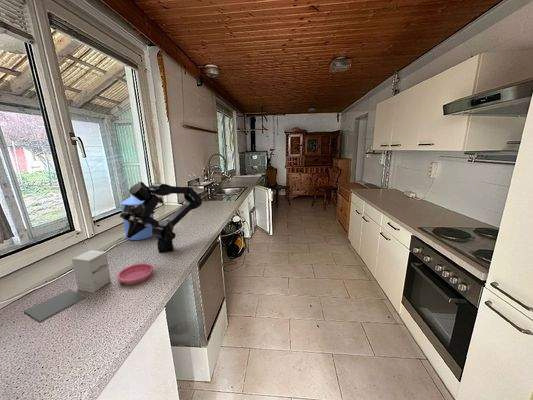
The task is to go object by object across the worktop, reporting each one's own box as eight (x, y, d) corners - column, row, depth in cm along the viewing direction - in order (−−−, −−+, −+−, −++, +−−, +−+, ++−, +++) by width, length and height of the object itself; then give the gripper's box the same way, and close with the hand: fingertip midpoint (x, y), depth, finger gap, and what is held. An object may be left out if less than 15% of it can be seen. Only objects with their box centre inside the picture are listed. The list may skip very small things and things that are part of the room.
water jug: (147, 241, 123) (141, 191, 117) (119, 240, 124) (111, 191, 117) (160, 230, 138) (156, 186, 132) (136, 230, 139) (129, 186, 132)
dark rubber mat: (69, 290, 81) (69, 289, 81) (85, 298, 77) (85, 297, 77) (24, 311, 70) (23, 310, 70) (40, 322, 66) (39, 321, 66)
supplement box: (94, 292, 80) (87, 260, 77) (77, 290, 81) (70, 258, 78) (111, 280, 87) (106, 251, 84) (96, 278, 88) (90, 249, 85)
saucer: (160, 275, 91) (159, 268, 91) (129, 291, 81) (128, 284, 80) (142, 266, 97) (141, 260, 97) (111, 281, 87) (110, 274, 86)
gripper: (120, 194, 99) (97, 225, 91) (150, 199, 91) (127, 233, 84) (139, 207, 107) (119, 236, 100) (167, 212, 100) (148, 244, 93)
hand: (128, 237), depth 94 cm, fingers closed
